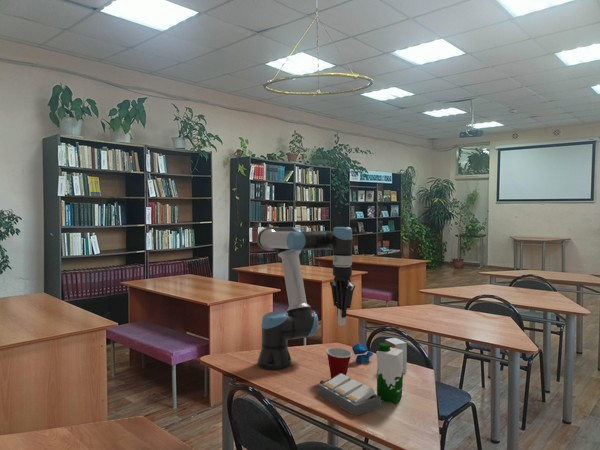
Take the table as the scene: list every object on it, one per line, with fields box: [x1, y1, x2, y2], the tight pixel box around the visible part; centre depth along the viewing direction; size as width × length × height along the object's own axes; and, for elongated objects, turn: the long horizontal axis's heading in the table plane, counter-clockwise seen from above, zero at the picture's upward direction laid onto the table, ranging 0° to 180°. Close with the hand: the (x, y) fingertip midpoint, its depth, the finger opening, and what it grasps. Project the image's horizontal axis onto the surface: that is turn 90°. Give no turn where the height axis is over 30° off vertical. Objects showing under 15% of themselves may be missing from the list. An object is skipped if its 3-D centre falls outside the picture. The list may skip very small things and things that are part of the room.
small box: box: [384, 337, 408, 373], centre depth 184 cm, size 8×6×13 cm
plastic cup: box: [325, 347, 353, 380], centre depth 173 cm, size 11×11×12 cm
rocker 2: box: [334, 378, 363, 397], centre depth 154 cm, size 5×9×2 cm, turn 124°
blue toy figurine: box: [351, 342, 374, 364], centre depth 195 cm, size 7×9×12 cm
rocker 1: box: [324, 373, 351, 390], centre depth 159 cm, size 5×9×2 cm, turn 124°
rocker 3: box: [346, 384, 375, 404], centre depth 149 cm, size 5×9×2 cm, turn 124°
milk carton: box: [375, 342, 404, 405], centre depth 156 cm, size 9×9×20 cm
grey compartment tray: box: [318, 380, 382, 417], centre depth 157 cm, size 27×12×4 cm, turn 34°
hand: (341, 325), depth 167 cm, fingers closed
